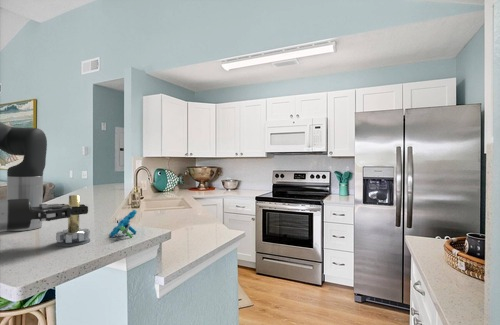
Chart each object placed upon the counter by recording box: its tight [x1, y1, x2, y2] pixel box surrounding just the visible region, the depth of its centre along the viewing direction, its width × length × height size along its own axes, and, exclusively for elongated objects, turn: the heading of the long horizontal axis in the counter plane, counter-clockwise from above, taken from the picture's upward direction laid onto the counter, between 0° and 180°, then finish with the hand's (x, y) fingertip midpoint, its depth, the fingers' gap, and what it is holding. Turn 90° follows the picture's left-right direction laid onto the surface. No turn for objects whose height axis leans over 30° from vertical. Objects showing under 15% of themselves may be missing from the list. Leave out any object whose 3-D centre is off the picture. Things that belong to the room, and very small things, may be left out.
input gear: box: [55, 194, 91, 243], centre depth 76 cm, size 8×8×12 cm
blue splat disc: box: [109, 209, 138, 239], centre depth 85 cm, size 11×6×10 cm
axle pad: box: [55, 237, 91, 248], centre depth 76 cm, size 8×8×1 cm
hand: (86, 208), depth 78 cm, fingers closed on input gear, 2 cm apart
